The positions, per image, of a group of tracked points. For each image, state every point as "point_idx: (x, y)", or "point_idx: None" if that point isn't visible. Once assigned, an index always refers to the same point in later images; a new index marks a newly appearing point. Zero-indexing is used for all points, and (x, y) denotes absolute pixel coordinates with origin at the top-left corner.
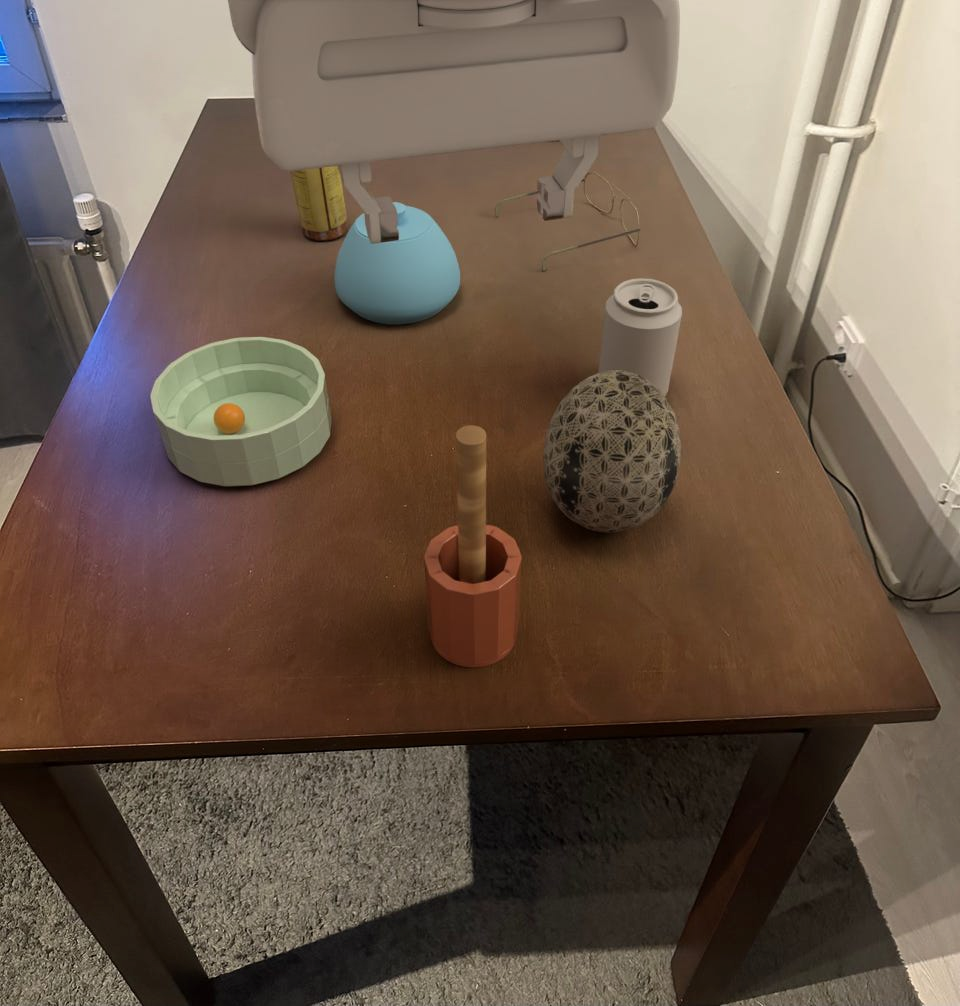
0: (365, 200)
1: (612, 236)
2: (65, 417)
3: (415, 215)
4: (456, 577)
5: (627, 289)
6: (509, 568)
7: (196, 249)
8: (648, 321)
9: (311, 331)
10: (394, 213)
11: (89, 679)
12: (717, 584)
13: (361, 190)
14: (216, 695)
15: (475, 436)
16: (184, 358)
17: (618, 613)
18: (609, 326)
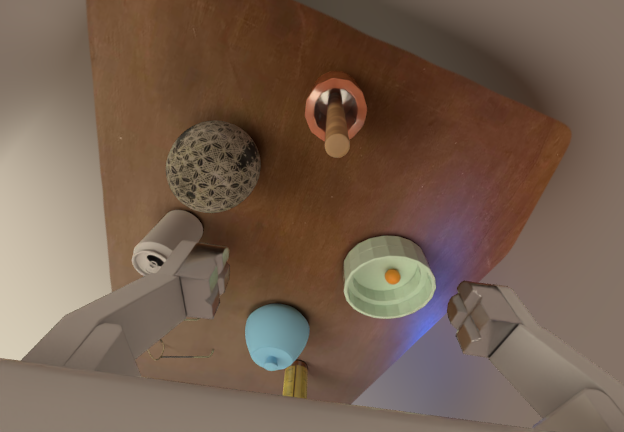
0: (564, 352)
1: None
2: None
3: (259, 359)
4: None
5: None
6: (318, 92)
7: (356, 372)
8: (157, 248)
9: (328, 314)
10: (494, 317)
11: (524, 153)
12: (186, 70)
13: (590, 374)
14: (476, 116)
15: (334, 142)
16: (404, 313)
17: (251, 75)
18: None
